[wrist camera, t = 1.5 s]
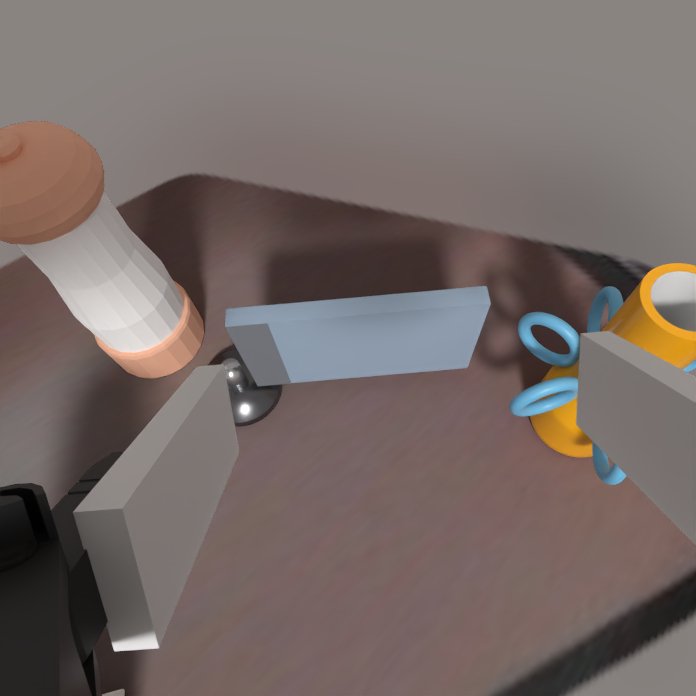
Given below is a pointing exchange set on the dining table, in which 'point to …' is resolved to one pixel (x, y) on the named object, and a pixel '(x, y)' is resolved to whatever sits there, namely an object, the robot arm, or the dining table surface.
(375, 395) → the dining table surface
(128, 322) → the pepper shaker
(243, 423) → the shiny grey rounded piece
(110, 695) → the milk
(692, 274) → the tube with blue loops
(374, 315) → the light blue rectangular panel
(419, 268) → the dining table surface
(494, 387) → the dining table surface
